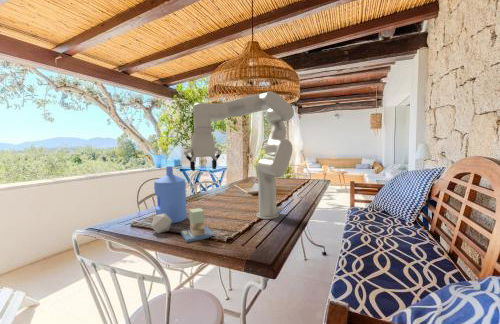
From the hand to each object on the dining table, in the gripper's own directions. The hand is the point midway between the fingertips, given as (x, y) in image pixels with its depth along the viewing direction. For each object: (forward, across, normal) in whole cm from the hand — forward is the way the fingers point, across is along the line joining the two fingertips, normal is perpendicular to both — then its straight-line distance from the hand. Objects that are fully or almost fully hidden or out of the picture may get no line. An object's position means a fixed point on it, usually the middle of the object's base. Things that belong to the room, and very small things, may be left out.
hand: (203, 169), depth 111 cm
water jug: (+28, +11, -24) cm, 39 cm away
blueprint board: (+28, +5, +4) cm, 29 cm away
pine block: (+27, +5, +4) cm, 28 cm away
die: (+28, +18, -9) cm, 35 cm away
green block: (+22, +5, +4) cm, 23 cm away
